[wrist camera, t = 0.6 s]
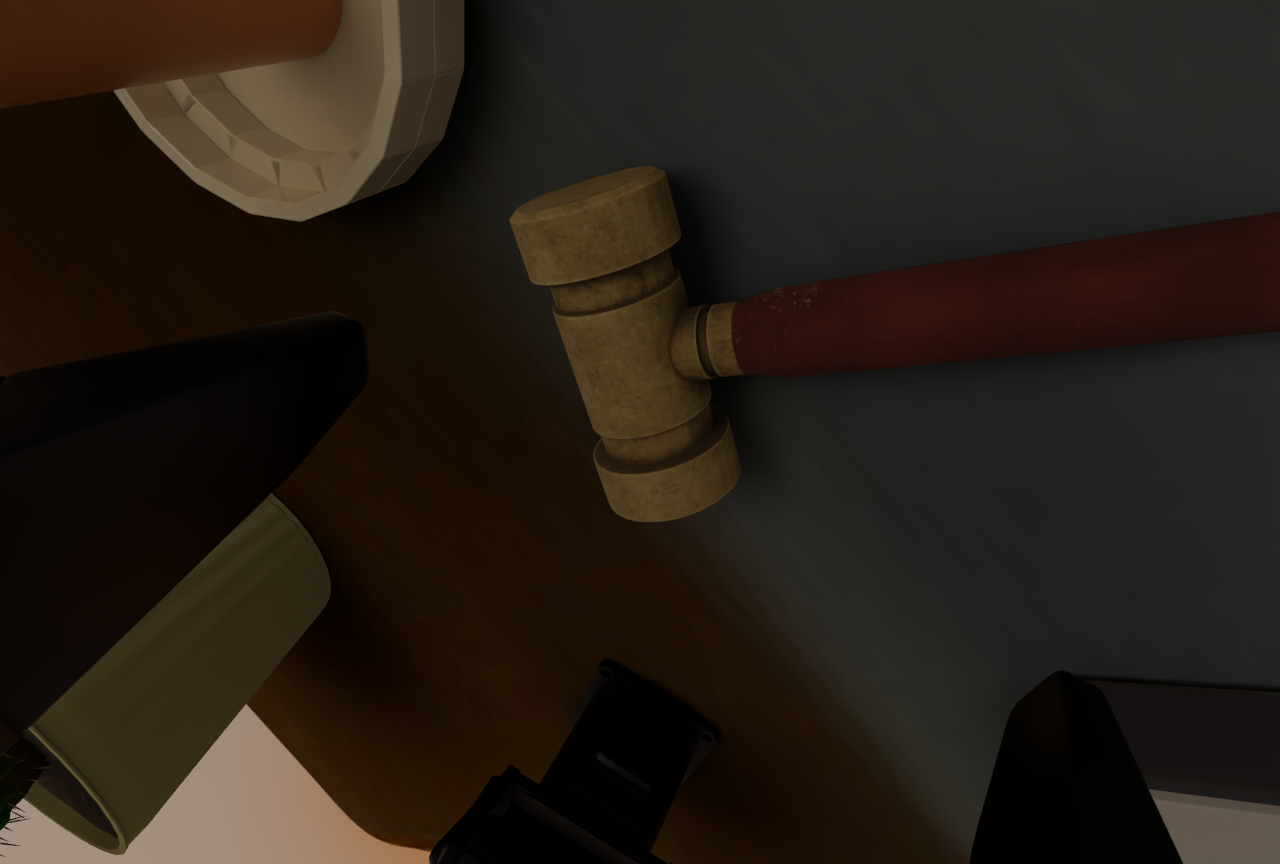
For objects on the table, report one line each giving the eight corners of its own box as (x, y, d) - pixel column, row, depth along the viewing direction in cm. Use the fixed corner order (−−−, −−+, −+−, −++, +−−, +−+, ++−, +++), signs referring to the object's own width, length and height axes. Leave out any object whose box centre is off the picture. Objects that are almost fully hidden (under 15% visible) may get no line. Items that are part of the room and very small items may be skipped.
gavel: (1641, -44, 11) (1489, 523, 15) (1473, -43, 14) (1389, 413, 18) (476, 227, 20) (588, 527, 24) (553, 186, 24) (639, 453, 28)
